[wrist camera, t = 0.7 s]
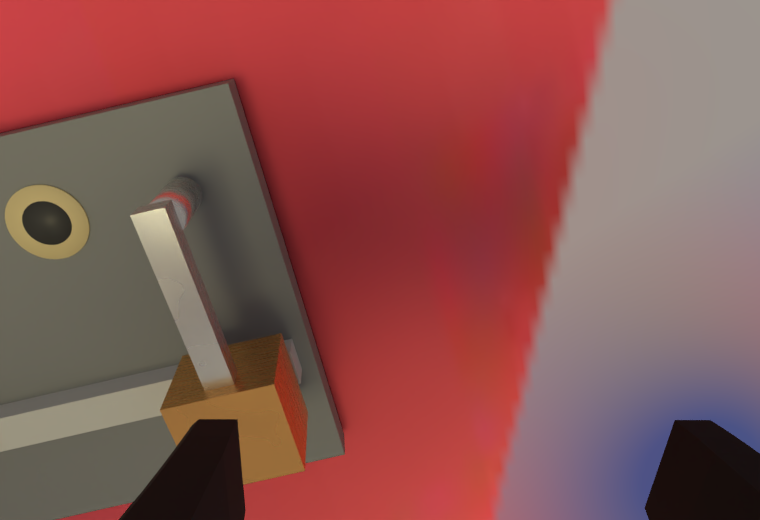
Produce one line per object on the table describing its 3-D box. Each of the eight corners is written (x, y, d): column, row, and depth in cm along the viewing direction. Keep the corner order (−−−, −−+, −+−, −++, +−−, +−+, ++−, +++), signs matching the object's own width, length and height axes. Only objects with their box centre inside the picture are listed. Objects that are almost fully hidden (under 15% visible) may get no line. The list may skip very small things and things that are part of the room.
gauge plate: (-124, 540, 21) (-161, 584, 20) (-390, 224, 16) (-470, 250, 14) (344, 434, 21) (345, 471, 20) (234, 78, 16) (222, 87, 14)
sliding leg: (219, 418, 19) (199, 494, 16) (123, 189, 15) (75, 233, 13) (308, 397, 19) (305, 470, 16) (231, 164, 15) (208, 202, 13)
